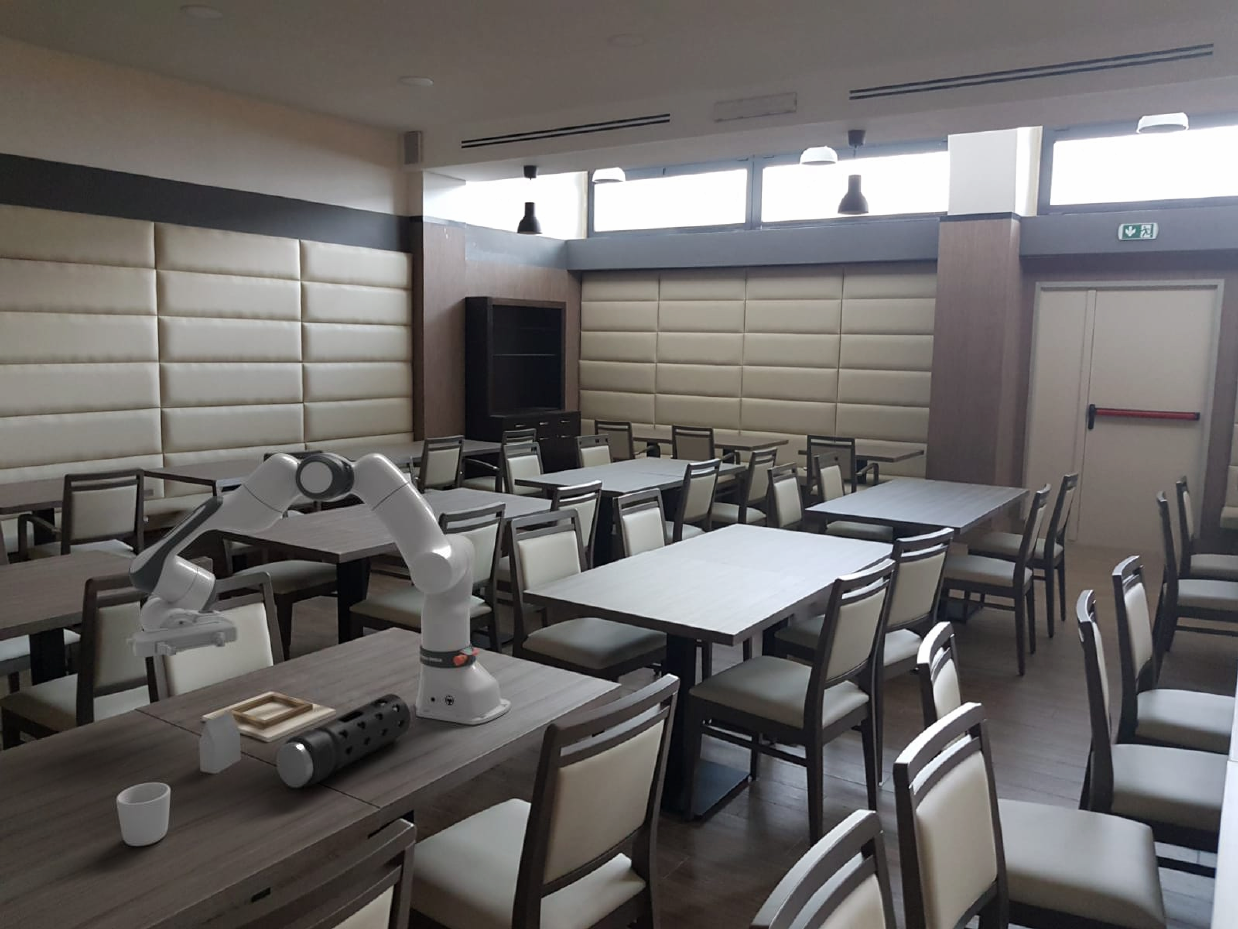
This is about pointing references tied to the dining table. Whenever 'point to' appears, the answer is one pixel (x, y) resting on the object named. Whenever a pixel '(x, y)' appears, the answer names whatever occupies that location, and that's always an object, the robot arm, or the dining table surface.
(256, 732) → the holder
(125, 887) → the dining table surface
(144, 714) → the dining table surface
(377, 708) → the muzzle brake
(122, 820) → the cup
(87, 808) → the dining table surface
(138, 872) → the dining table surface
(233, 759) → the tea bag
